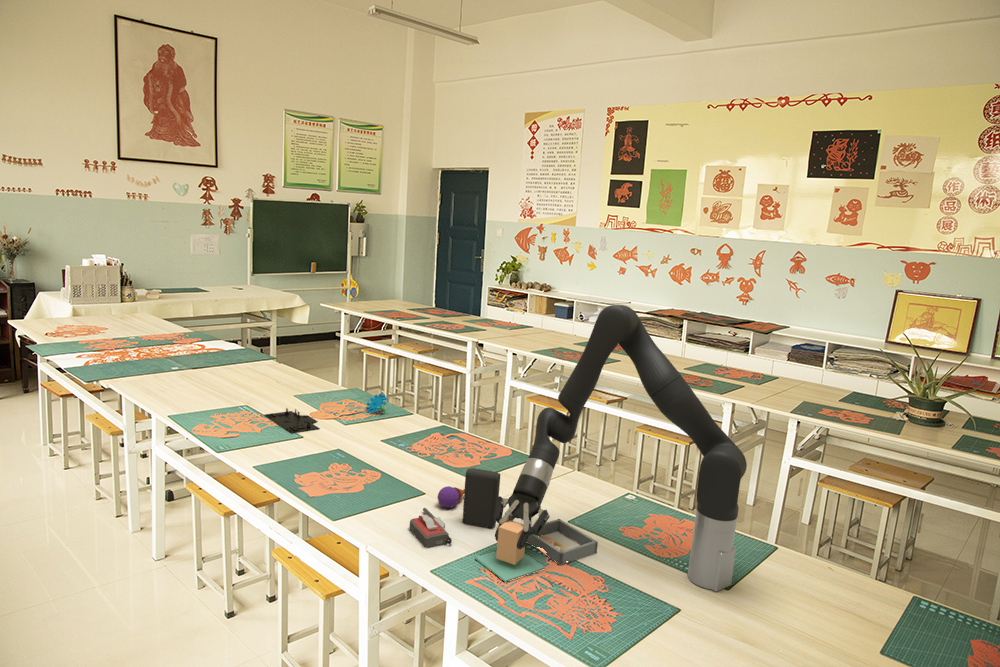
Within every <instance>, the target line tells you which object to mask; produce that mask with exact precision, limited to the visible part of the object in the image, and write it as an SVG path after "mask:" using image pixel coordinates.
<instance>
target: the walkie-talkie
mask: <svg viewBox="0 0 1000 667" xmlns="http://www.w3.org/2000/svg"><path fill="white" fill-rule="evenodd" d="M422 511H423V512H424V514H421V515H418V517H415V518H412V519H410V520H409V531H410V532H411V533H412V535H414V537H416V539H418V541H419V542H420V543H421V544H422V545H423V547H424V548H426V549H430V548H435V547H441V546H445V545H449V544H452V542H453V541H452V538H451V537H450V534H449V533H448V532H447V531H446V523H445V522H444V521H443V520H442V519H441V517H439V516H438V517H436V516H435V515H433V514H432V513H431V512H430V511H429V510H428V509H427V508H426V507H423V509H422Z"/></svg>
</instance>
